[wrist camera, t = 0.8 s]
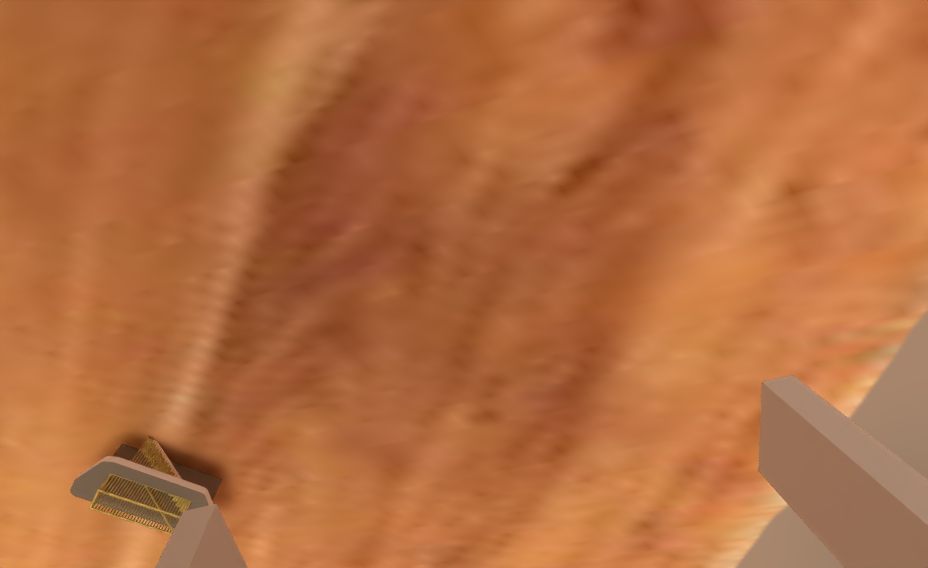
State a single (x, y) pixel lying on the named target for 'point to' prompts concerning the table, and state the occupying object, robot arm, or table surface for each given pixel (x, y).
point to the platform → (145, 486)
